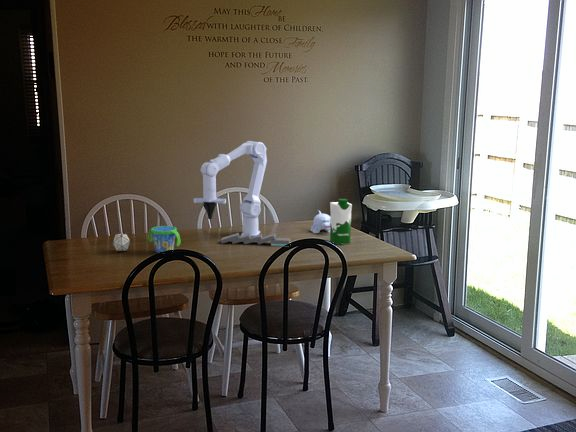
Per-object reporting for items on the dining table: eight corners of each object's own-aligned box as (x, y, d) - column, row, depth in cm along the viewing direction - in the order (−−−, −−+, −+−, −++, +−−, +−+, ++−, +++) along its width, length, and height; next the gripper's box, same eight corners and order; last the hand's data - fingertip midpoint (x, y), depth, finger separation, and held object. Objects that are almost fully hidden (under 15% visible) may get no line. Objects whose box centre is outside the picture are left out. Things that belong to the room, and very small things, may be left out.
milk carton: (334, 245, 278) (335, 200, 274) (327, 240, 286) (328, 197, 282) (353, 243, 280) (354, 199, 277) (345, 239, 289) (346, 196, 285)
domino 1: (220, 240, 279) (237, 235, 278) (221, 237, 284) (238, 232, 283) (221, 243, 279) (238, 238, 279) (222, 241, 284) (239, 236, 283)
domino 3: (243, 241, 278) (260, 236, 277) (244, 238, 283) (261, 233, 282) (244, 244, 278) (261, 239, 277) (245, 241, 283) (262, 237, 282)
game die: (124, 260, 264) (124, 245, 257) (106, 252, 265) (106, 237, 258) (135, 246, 270) (136, 231, 263) (118, 239, 271) (118, 223, 264)
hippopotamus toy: (316, 235, 296) (317, 216, 295) (308, 229, 311) (308, 210, 309) (338, 234, 299) (338, 215, 297) (328, 228, 313) (329, 209, 311)
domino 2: (231, 240, 279) (248, 235, 278) (233, 238, 284) (249, 233, 283) (232, 244, 279) (249, 239, 278) (234, 241, 284) (250, 236, 283)
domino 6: (271, 243, 276) (288, 244, 275) (273, 241, 281) (290, 241, 280) (271, 247, 277) (288, 248, 275) (273, 244, 281) (290, 245, 280)
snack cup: (186, 251, 265) (186, 228, 263) (169, 257, 256) (168, 232, 254) (160, 246, 273) (159, 224, 271) (142, 251, 264) (141, 228, 262)
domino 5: (271, 240, 276) (289, 240, 275) (272, 237, 281) (290, 238, 280) (271, 243, 276) (289, 244, 275) (272, 241, 281) (290, 241, 280)
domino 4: (256, 241, 277) (273, 235, 275) (259, 238, 282) (275, 232, 280) (258, 244, 278) (274, 238, 276) (260, 242, 282) (276, 236, 280)
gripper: (191, 190, 279) (192, 220, 281) (223, 190, 277) (223, 220, 280) (195, 187, 286) (196, 217, 288) (226, 188, 284) (227, 217, 286)
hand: (210, 218), depth 284 cm, fingers closed
